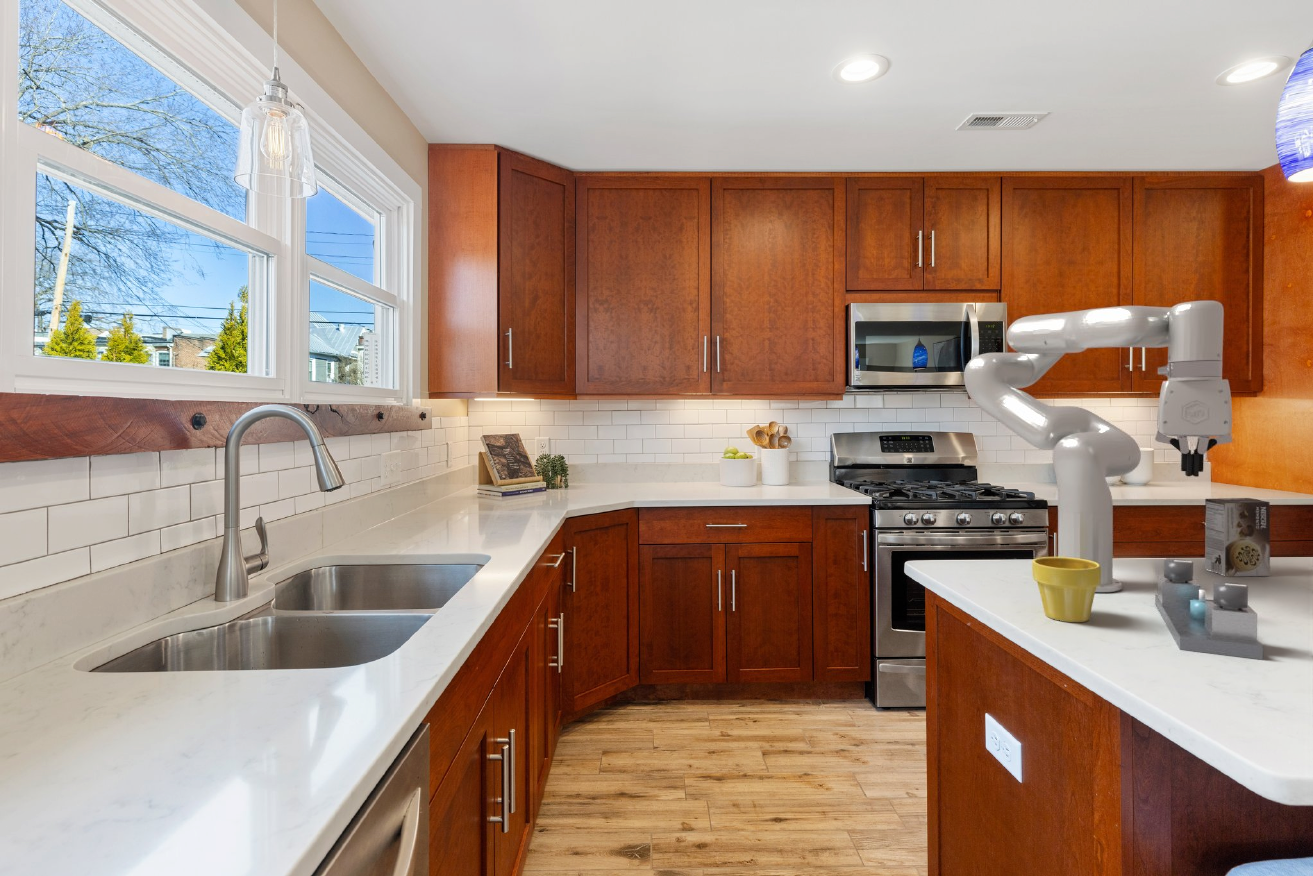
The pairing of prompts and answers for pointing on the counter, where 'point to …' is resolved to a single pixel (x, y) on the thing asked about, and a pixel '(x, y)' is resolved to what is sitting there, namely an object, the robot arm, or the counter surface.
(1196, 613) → the potentiometer
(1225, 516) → the coffee box
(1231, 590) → the knob near
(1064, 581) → the plant pot
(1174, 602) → the mount
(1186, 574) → the knob far
